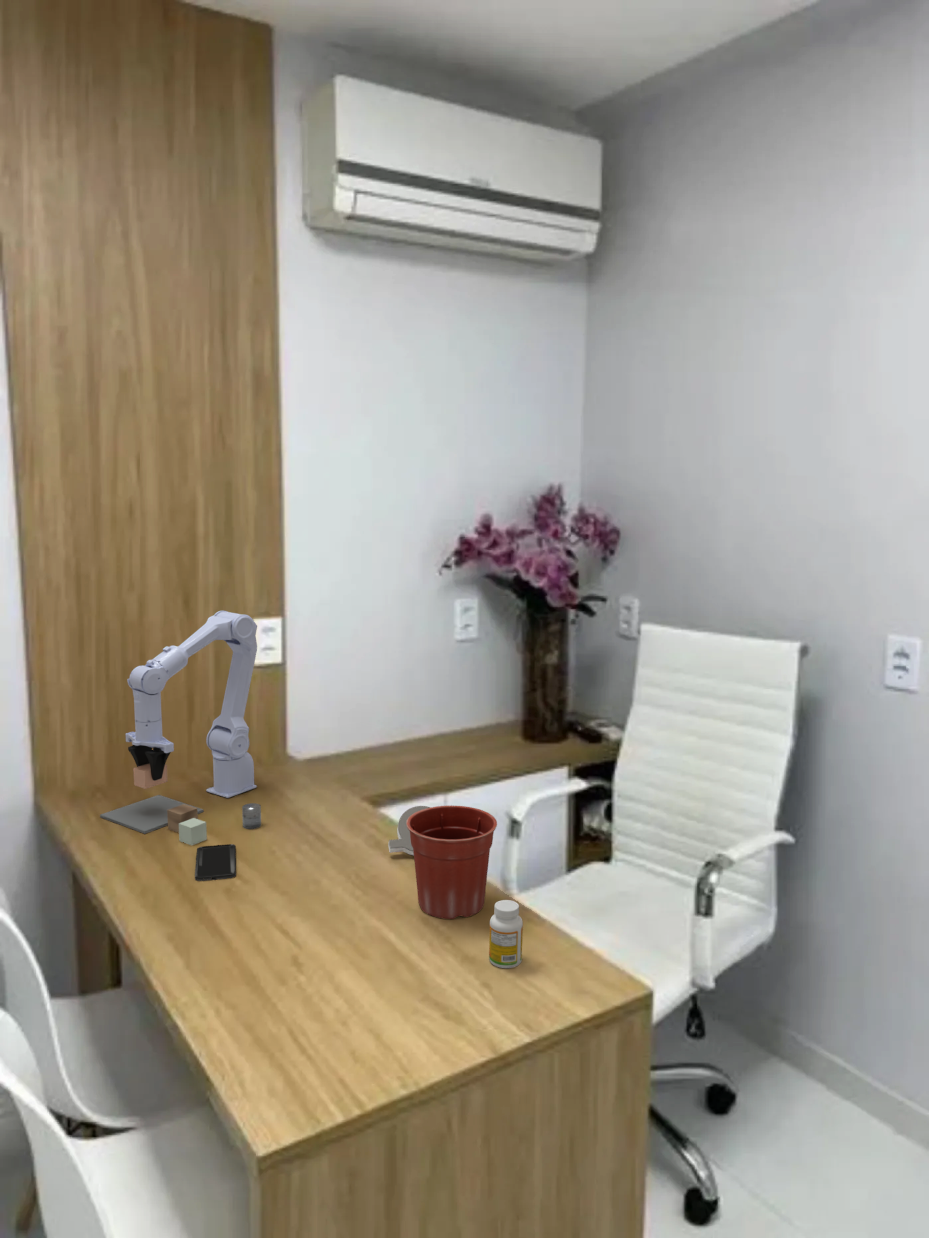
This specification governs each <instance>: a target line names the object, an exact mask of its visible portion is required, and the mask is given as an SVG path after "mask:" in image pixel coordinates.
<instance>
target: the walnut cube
mask: <svg viewBox="0 0 929 1238" xmlns="http://www.w3.org/2000/svg"><path fill="white" fill-rule="evenodd" d="M185 804H186V803H185ZM185 804H182V805H180V806H177V807H174V808H171V809H169V810H167V817H168V825H167V829H168V830H170V831H173V832H175V833H177V832H178V834H179V823H182V822H184V821H187V820H190V819H192V818H196V819H198V817H199V816H198V815H199V814H198V813H197V808H198V807H197V808H195V807H196V806H194V807H191V806H192V805H191V806H188V805H189V804H188V805H185Z"/></svg>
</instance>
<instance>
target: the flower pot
mask: <svg viewBox="0 0 929 1238" xmlns="http://www.w3.org/2000/svg"><path fill="white" fill-rule="evenodd" d="M430 807H431V806H430ZM406 824H407V828H408V830H409V831H410V838H411V845H412V847H413V852H414V856H413V858H414V859H413V860H414V870H415V879H416V888H417V889H416V891H417V903H418V905H419V907H420V908H421V910H422V911H423V912H424V913H425V914H427V915H429V916H430V917H434V918H437V919H438V918H439V919H445V920H454V919H456V918H458V917H462V918H463V917H464V918H468V917H471V916H474V915H476V914H477V913H479V912H480V911H481V910H482V909H483V908H484V906H485V900H486V899H485V898H486V891H487V890H486V889H487V879H488V871H489V869H488V868H489V861H490V853H491V848H492V846H493V839H494V832H495V831H496V829H497V827H498V821H497V818H495V816H493V815H492V814H491V813H490V812H487V811H485V810H483V809H479V808H476V807H472V806H465V805H464V806H463V805H438V806H432V807H431V808H427V809H423V810H420V811H418V812H415V813H414V814H412V815H411V816H410V817H409V818H408V819H407V822H406Z"/></svg>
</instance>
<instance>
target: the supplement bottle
mask: <svg viewBox="0 0 929 1238" xmlns="http://www.w3.org/2000/svg"><path fill="white" fill-rule="evenodd" d="M493 909H494V912H493V913H494V914H493V915H492V916H491V918H490V920H489V935H488V936H489V937H488V938H489V940H488V941H489V942H488V943H489V945H488V948H489V949H488V953H489V954H488V960H489V962H490V964H491V965H493V966H494V967H497V968H500V969H512V968H516V967H517V966H519V965H520V964H521V963H522V960H523V933H524V932H523V930H524V929H523V928H524V927H523V926H524V924H523V923H524V922H523V919H522V917H521V916H520V915H519V914H520V905H519V903H517V902H516V901H514V900H510V899H502V900H499V901H496V902H495V903H494V907H493Z"/></svg>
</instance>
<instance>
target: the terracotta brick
mask: <svg viewBox="0 0 929 1238" xmlns="http://www.w3.org/2000/svg"><path fill="white" fill-rule="evenodd" d="M132 771H133V785H134V786H135V787H139V788H141V789H145V790H146V789H149V788H153V787H155V786H158V785H161V784H164V783H167V782H168V765H167V763H165V767H164V771H163V775H162V779H159V780H155V781H154V780H153V779H152V776H151V768H150V763H149V764H145V765H142V766H139V767H137V766H136V767H133V770H132Z"/></svg>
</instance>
